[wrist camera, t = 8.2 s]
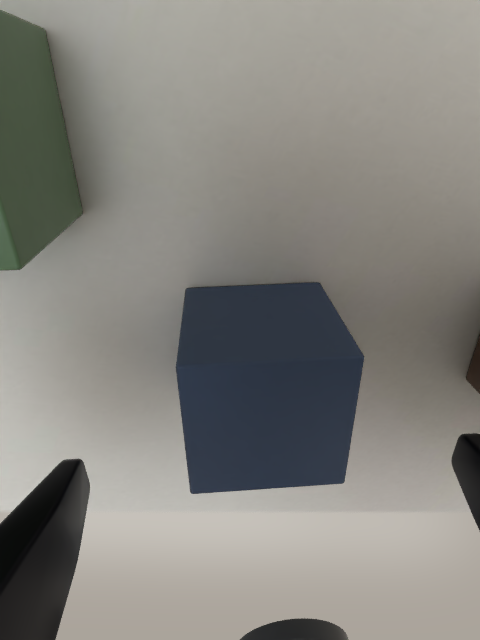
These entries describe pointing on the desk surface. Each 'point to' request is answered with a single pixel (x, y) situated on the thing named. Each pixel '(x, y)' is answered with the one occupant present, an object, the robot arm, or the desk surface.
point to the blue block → (265, 387)
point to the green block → (31, 147)
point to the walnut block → (475, 369)
